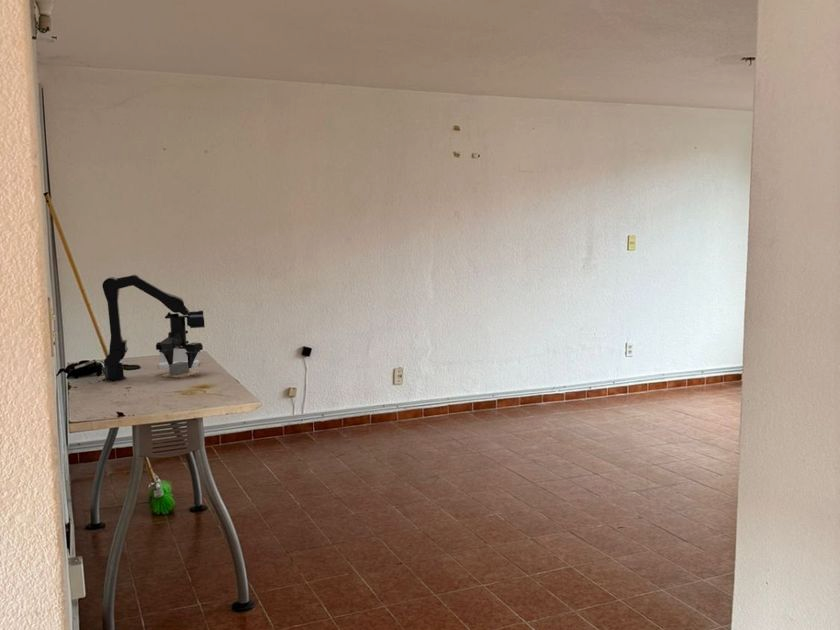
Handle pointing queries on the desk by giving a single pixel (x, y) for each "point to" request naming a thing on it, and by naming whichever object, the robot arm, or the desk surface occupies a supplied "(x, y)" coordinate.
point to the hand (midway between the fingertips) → (180, 367)
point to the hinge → (176, 358)
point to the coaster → (181, 374)
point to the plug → (178, 368)
